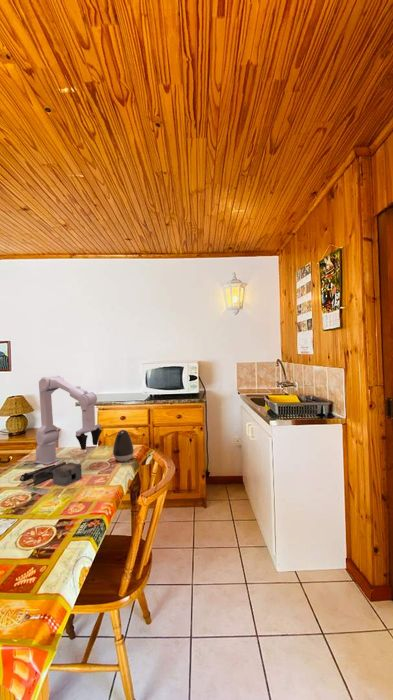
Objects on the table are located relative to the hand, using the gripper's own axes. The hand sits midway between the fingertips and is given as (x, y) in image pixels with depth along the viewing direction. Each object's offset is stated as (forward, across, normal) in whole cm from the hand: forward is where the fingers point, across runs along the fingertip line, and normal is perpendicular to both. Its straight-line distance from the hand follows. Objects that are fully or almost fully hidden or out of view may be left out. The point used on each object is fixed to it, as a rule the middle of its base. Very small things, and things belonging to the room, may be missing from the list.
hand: (89, 447), depth 151 cm
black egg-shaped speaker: (+10, +15, -8) cm, 20 cm away
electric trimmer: (+11, -15, +17) cm, 25 cm away
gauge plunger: (+10, -17, +3) cm, 20 cm away
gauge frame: (+10, -20, +2) cm, 22 cm away
